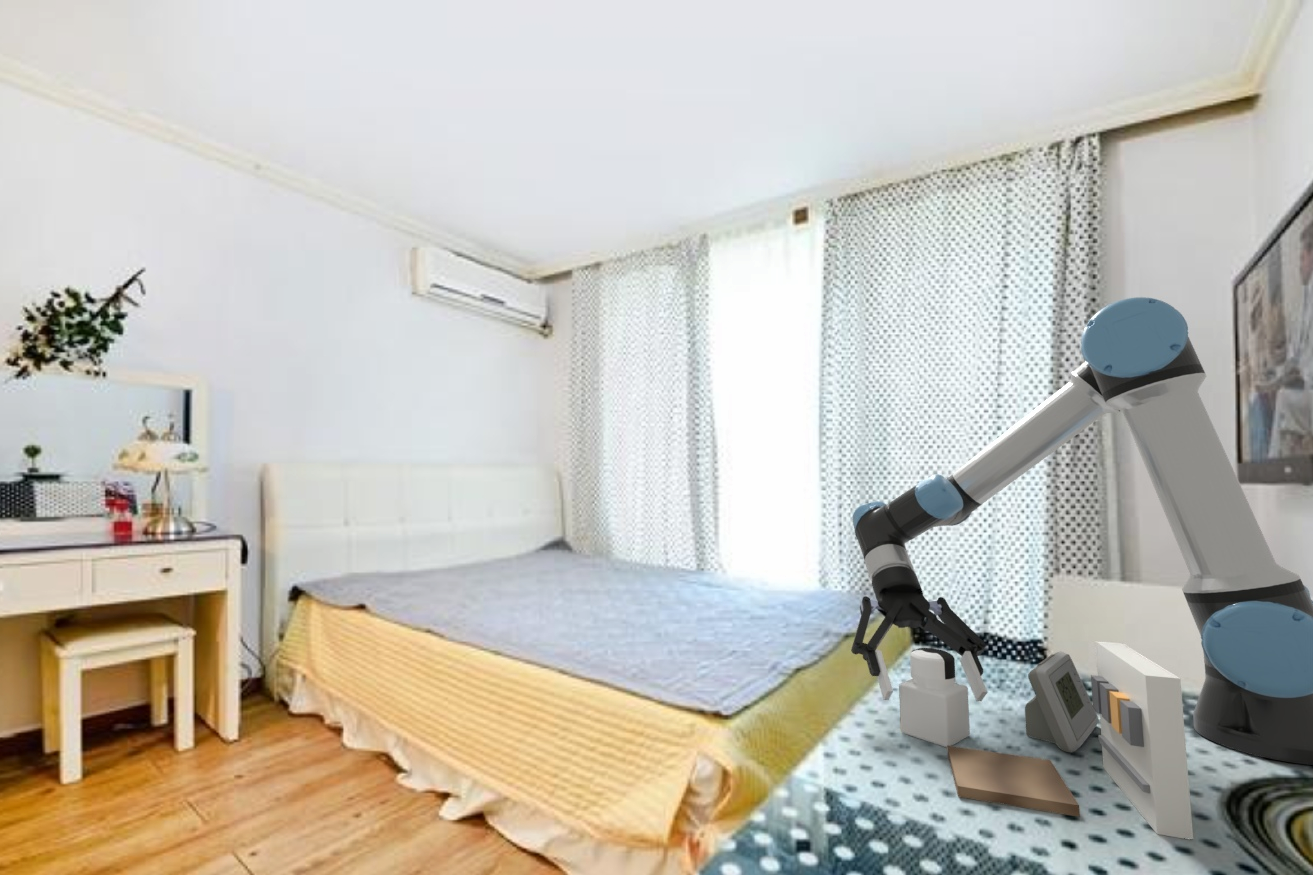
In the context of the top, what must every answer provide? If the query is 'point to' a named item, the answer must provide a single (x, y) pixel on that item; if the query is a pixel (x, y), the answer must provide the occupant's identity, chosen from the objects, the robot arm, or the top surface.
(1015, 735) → the top surface
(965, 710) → the medicine bottle
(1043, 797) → the walnut board
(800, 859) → the top surface
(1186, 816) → the breaker panel
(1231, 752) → the top surface
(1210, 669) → the robot arm
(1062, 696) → the digital clock
